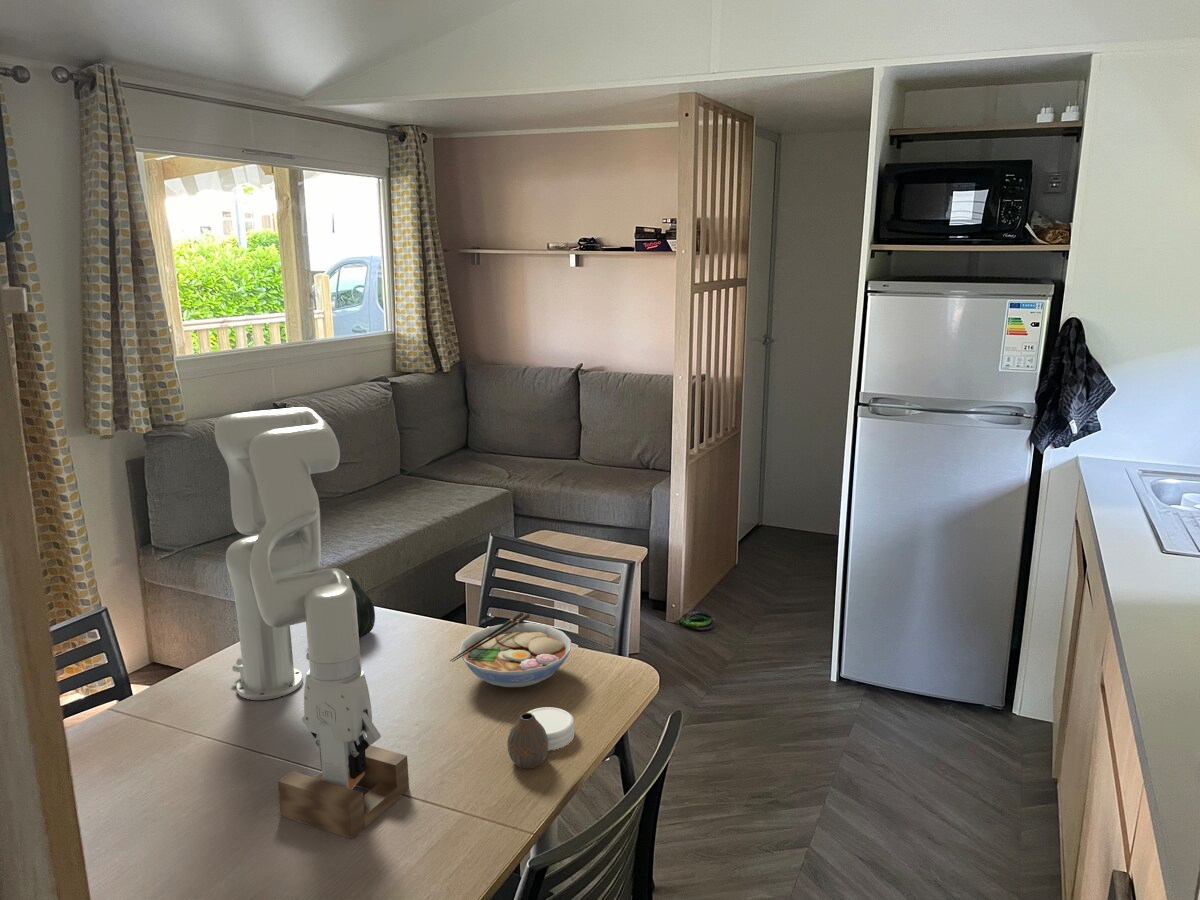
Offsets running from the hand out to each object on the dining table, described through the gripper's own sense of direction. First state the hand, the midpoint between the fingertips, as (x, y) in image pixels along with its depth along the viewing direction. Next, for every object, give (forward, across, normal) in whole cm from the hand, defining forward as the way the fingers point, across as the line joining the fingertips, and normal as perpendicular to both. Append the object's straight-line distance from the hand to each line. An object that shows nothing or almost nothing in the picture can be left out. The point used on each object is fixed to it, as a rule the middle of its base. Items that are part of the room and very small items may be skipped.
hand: (344, 768), depth 141 cm
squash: (+6, -42, +48) cm, 64 cm away
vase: (+6, +21, +22) cm, 31 cm away
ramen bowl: (+6, +4, +47) cm, 48 cm away
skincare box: (+3, 0, 0) cm, 3 cm away
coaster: (+6, +20, +30) cm, 37 cm away
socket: (+6, 0, 0) cm, 6 cm away
